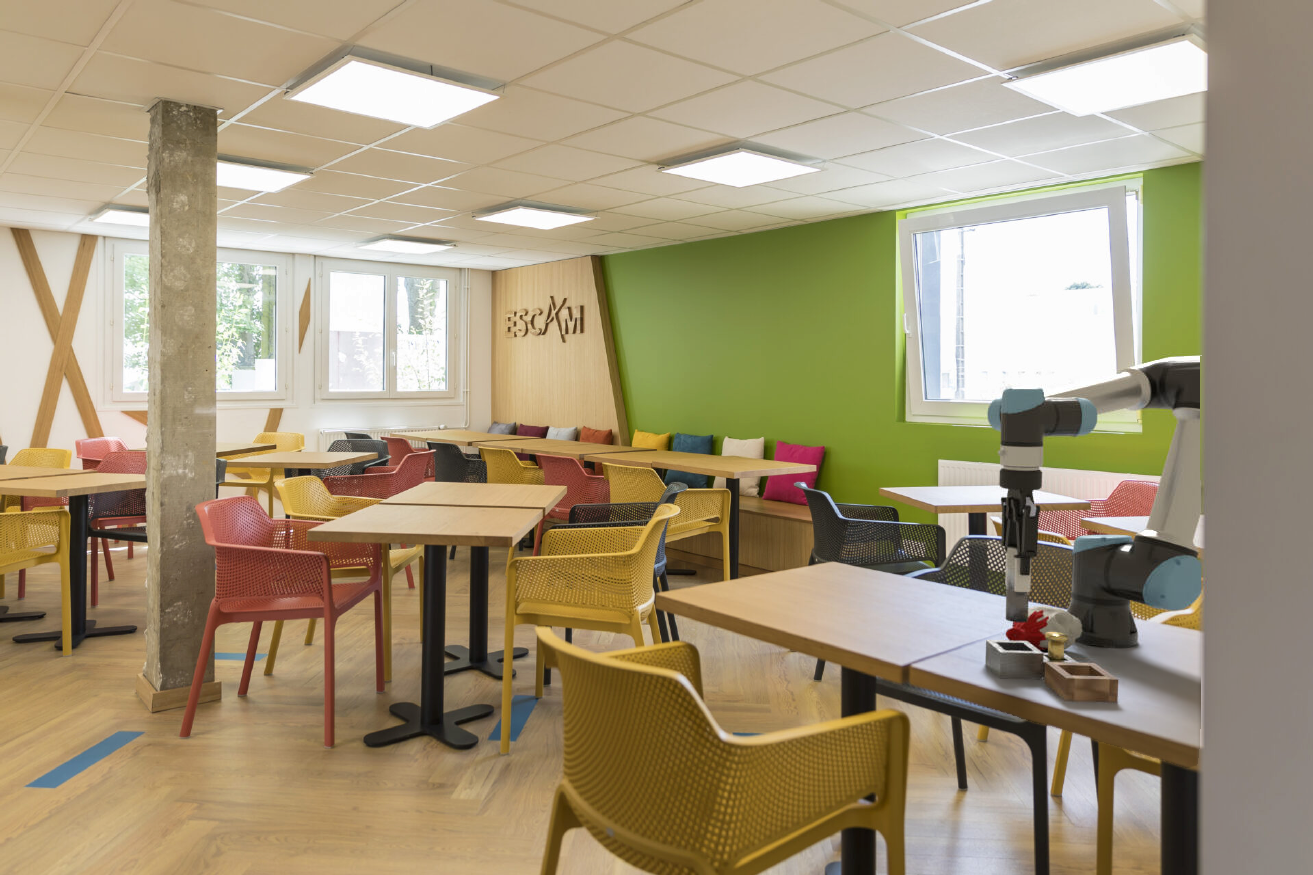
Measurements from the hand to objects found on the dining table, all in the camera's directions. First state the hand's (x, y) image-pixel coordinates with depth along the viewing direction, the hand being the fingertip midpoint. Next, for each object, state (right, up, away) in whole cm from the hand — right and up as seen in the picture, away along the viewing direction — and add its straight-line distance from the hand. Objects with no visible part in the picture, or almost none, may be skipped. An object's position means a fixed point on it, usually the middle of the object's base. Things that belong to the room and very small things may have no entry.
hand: (1017, 588), depth 165 cm
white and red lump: (+11, -16, +16) cm, 25 cm away
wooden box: (+7, -17, -10) cm, 21 cm away
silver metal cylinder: (0, -6, 0) cm, 6 cm away
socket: (+3, -16, +1) cm, 17 cm away
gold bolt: (+8, -16, 0) cm, 18 cm away
